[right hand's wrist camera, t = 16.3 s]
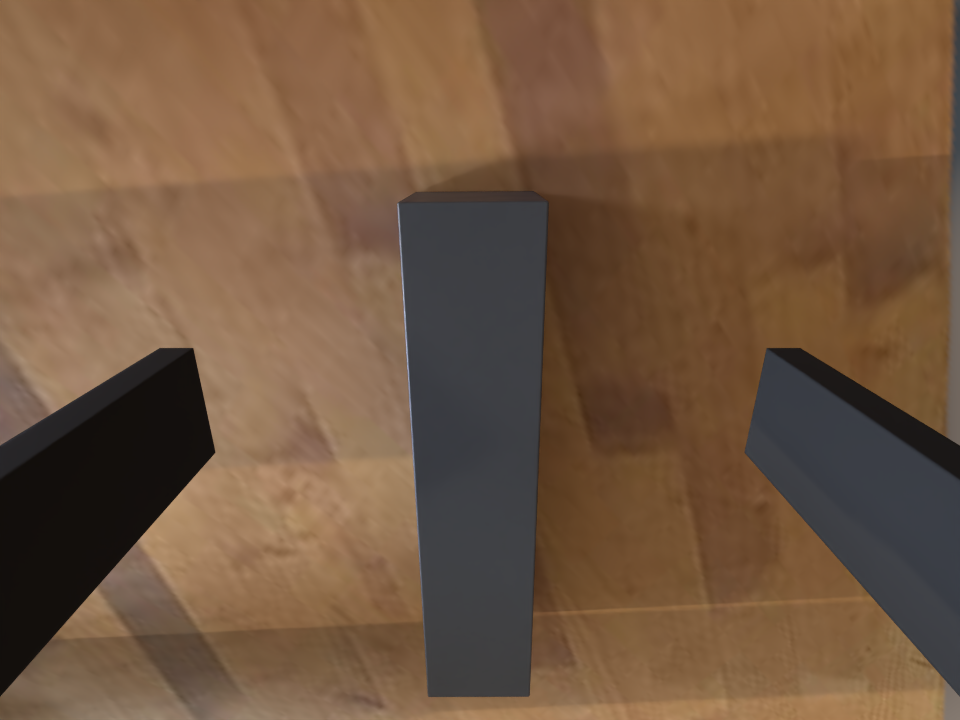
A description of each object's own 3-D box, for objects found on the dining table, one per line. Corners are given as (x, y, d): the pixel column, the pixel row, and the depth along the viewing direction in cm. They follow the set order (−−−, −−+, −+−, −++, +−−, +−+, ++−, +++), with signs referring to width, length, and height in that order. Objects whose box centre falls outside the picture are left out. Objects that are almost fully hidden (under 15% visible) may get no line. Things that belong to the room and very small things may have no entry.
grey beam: (435, 614, 37) (427, 697, 31) (414, 191, 26) (396, 202, 21) (522, 614, 37) (529, 697, 31) (534, 190, 26) (549, 200, 21)
